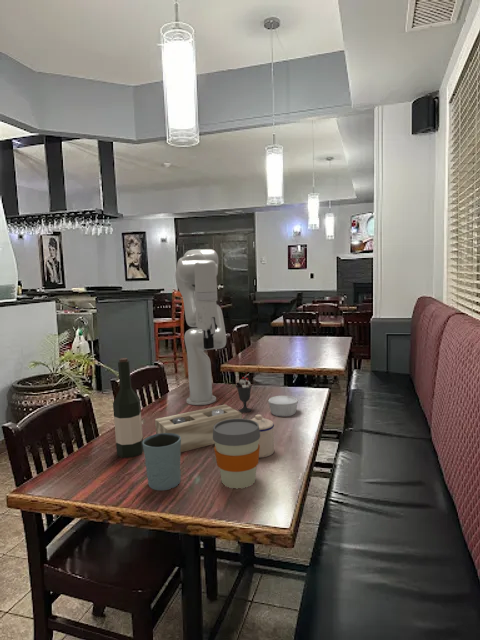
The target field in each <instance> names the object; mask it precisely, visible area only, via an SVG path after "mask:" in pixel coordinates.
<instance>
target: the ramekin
mask: <svg viewBox="0 0 480 640" xmlns="http://www.w3.org/2000/svg"><path fill="white" fill-rule="evenodd" d="M267 403H268V405H269V409H270V410H269V411H270V413H271V414H272V415H274V416H276V417H292V416H293V415H295V414H296V411H297V408H298V403H299V400H298V398H296V397H294V396H291V395H276V396H272V397H269V399H268V401H267Z"/></svg>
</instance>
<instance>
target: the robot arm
mask: <svg viewBox="0 0 480 640" xmlns="http://www.w3.org/2000/svg"><path fill="white" fill-rule="evenodd" d="M218 273H219V255H218V253H217V252H216V250H214V249H212V248H207V249H205V248H204V249H203V248H202V249H200V248H199V249H189V250H188V251H186V252H185V253H184V254H183V256H181V257H180V258H179V259H178V260H177V263H176V270H175V275H174V278H175V283H176V285H177V288H178V291H179V292H180V294H181V297H182V301H183V307H184V315H185V317H184V318H185V321H186V324H187V326H189V327H190V328H189V329H188V330H186V331H185V333H184V337H183V338H184V343H185V348H186V353H187V356H186V357H187V367H188V382H189V383H188V384H189V385H188V386H189V397H187V398H186V403H187V404H188V405H191V406H206V405H210V404H213V403H215V402H216V401H217V397H216V396H215V395H213V386H212V385H213V381H212V363H211V358H210V357H209V355H207V354H206V353H205V352H204V351H208V350H209V351H210V350H218V349H224V348H225V347H226V344H227V333H226V326H225V320H224V315H223V311H222V308H221V306H220V305H219V304H218V303H217V302H218V289H217V288H218V283H217V276H218V275H219V274H218Z"/></svg>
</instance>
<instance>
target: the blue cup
mask: <svg viewBox="0 0 480 640" xmlns="http://www.w3.org/2000/svg"><path fill="white" fill-rule="evenodd" d="M142 444H143V449H144V450H143V453H144V459H145V467H146V468H145V471H146V475H147V483H148V486H149V488H150V489H152V490H154V491H167V490H171V488H172V489H174V488H176V487H178V486H179V485H178V484H180V483H181V478H182V477H181V474H182V473H181V472H182V471H181V454H182V452H180V448H181V437H180V436H179V435H177V434H173V433H160V434H156V433H155V434H152V435H149V436H147V437H146V438H143V442H142Z"/></svg>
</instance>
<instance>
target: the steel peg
mask: <svg viewBox="0 0 480 640" xmlns="http://www.w3.org/2000/svg"><path fill="white" fill-rule="evenodd" d="M220 414H224V410H222V409H215V410H213V411H212V416H215V415H220Z"/></svg>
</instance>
